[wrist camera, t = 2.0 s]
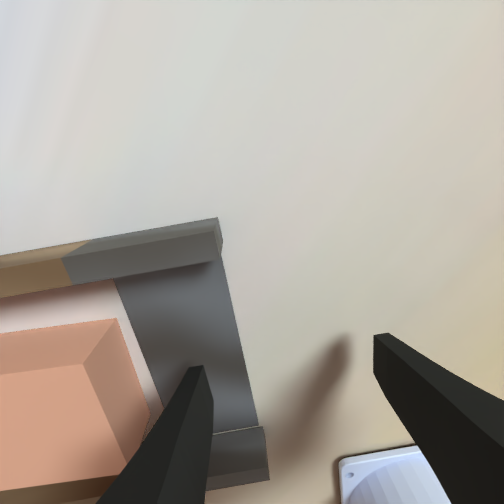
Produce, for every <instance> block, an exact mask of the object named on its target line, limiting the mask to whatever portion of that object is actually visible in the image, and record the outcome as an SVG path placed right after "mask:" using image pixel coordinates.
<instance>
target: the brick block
mask: <svg viewBox="0 0 504 504" xmlns="http://www.w3.org/2000/svg"><path fill="white" fill-rule="evenodd" d="M150 414H151V413H150V411H149V408H148V405H147V402H146V399H145V396H144V394H143V391H142V388H141V385H140V382H139V380H138V377H137V374H136V371H135V368H134V366H133V363H132V360H131V357H130V354H129V351H128V349H127V346H126V343H125V340H124V337H123V335H122V332H121V329H120V326H119V323H118V321H117V318H113V319H105V320H98V321H90V322H83V323H76V324H68V325H61V326H53V327H46V328H38V329H31V330H23V331H16V332H8V333H1V334H0V491H4V490H11V489H18V488H25V487H33V486H40V485H47V484H54V483H61V482H68V481H76V480H83V479H90V478H97V477H104V476H112V475H119V474H120V473H121V471H122V470H123V469H124V467H125V466H126V465H127V464H128V462H129V461H130V460H131V458H132V457H133V456H134V454H135V453H136V451H137V450H138V449H139V447H140V444H141V441H142V438H143V435H144V432H145V429H146V426H147V423H148V420H149V417H150Z"/></svg>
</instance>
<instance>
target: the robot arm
mask: <svg viewBox="0 0 504 504" xmlns="http://www.w3.org/2000/svg"><path fill="white" fill-rule="evenodd" d="M373 373H374V375H375V377H376V379H377V381H378V383H379V385H380V387H381V389H382V391H383V393H384V395H385V397H386V398H387V400H388V402H389V403H390V405H391V406H392V408H393V409H394V411H395V412H396V414H397V416H398V417H399V419H400V420H401V422H402V423H403V425H404V426H405V428H406V429H407V431H408V432H409V434H410V435H411V437H412V438H413V440H414V441H415V443H416V446H410V447H404V448H399V449H393V450H387V451H382V452H376V453H370V454H365V455H359V456H353V457H348V458H344V459H342V460H341V461H340V462H339V478H340V492H341V504H504V400H502V399H499V398H497V397H495V396H493V395H491V394H490V393H488V392H486V391H484V390H482V389H480V388H478V387H476V386H475V385H473V384H471V383H469V382H467V381H466V380H464V379H462V378H460V377H458V376H457V375H455V374H453V373H452V372H450V371H448V370H446V369H445V368H443V367H442V366H440V365H438V364H437V363H435V362H433V361H432V360H430V359H429V358H427V357H425V356H424V355H422V354H421V353H419V352H417V351H416V350H414V349H413V348H411V347H410V346H408V345H407V344H405V343H404V342H402V341H400V340H399V339H397V338H396V337H394V336H393V335H391V334H389V333H383V334H378V335H374V346H373ZM213 419H214V400H213V396H212V393H211V389H210V386H209V382H208V379H207V376H206V372H205V369H204V365H199V366H194V367H189V368H188V369H187V371H186V373H185V374H184V376H183V378H182V380H181V382H180V383H179V385H178V387H177V389H176V391H175V392H174V394H173V396H172V397H171V399H170V401H169V402H168V404H167V406H166V407H165V409H164V411H163V412H162V414H161V416H160V417H159V419H158V420H157V422H156V423H155V425H154V426H153V428H152V429H151V431H150V432H149V434H148V435H147V437H146V438H145V440H144V441H143V443H142V444H141V446H140V447H139V449H138V450H137V451H136V453H135V454H134V456H133V457H132V458H131V460H130V461H129V462H128V464H127V465H126V466H125V467H124V469H123V470H122V471H121V473H120V474H119V475H118V477H117V478H116V479H115V480H114V481H113V483H112V484H111V485H110V486H109V488H108V489H107V490H106V491H105V493H104V494H103V495H102V496H101V497H100V499H99V500H98V501H97V502H96V503H95V504H204V500H205V491H206V483H207V475H208V467H209V459H210V451H211V443H212V434H213Z"/></svg>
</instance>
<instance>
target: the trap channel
mask: <svg viewBox="0 0 504 504" xmlns="http://www.w3.org/2000/svg"><path fill="white" fill-rule="evenodd" d="M222 244H223V239H222V235H221V230H220V225H219V221H218V217H217V218H211V219H206V220H200V221H194V222H189V223H183V224H177V225H172V226H166V227H160V228H154V229H149V230H143V231H137V232H132V233H126V234H120V235H115V236H109V237H103V238H98V239H92V240H86V241H80V242H75V243H69V244H63V245H58V246H52V247H46V248H41V249H35V250H29V251H24V252H18V253H12V254H6V255H1V256H0V298H3V297H9V296H15V295H20V294H26V293H32V292H37V291H43V290H49V289H55V288H60V287H66V286H72V285H77V284H83V283H89V282H94V281H100V280H106V279H111V278H113V280H114V282H115V285H116V287H117V290H118V292H119V295H120V297H121V300H122V302H123V305H124V308H125V310H126V313H127V315H128V318H129V320H130V323H131V325H132V328H133V330H134V333H135V335H136V338H137V340H138V343H139V346H140V348H141V351H142V353H143V356H144V358H145V361H146V363H147V366H148V368H149V371H150V373H151V376H152V378H153V381H154V384H155V386H156V389H157V391H158V394H159V396H160V399H161V401H162V404H163V406H164V409H165V407H166V406H167V404H168V402H169V401H170V399H171V397H172V396H173V394H174V392H175V391H176V389H177V387H178V385H179V383H180V382H181V380H182V378H183V376H184V374H185V373H186V371H187V369H188V368H189V367H194V366H199V365H204V369H205V372H206V376H207V379H208V382H209V386H210V389H211V393H212V396H213V400H214V419H213V433H218V432H224V431H229V430H235V429H241V428H247V427H252V426H258V425H259V424H258V419H257V415H256V410H255V406H254V401H253V397H252V392H251V388H250V383H249V379H248V374H247V370H246V365H245V361H244V356H243V352H242V347H241V343H240V338H239V334H238V329H237V324H236V320H235V315H234V311H233V306H232V302H231V297H230V293H229V288H228V284H227V279H226V275H225V270H224V266H223V261H222V257H221V251H222ZM117 477H118V475H112V476H104V477H97V478H90V479H83V480H76V481H68V482H61V483H54V484H47V485H40V486H33V487H25V488H18V489H11V490H4V491H0V504H95V503H96V502H97V501H98V500H99V499H100V497H101V496H102V495H103V494H104V493H105V491H106V490H107V489H108V488H109V486H110V485H111V484H112V483H113V481H114V480H115V479H116V478H117ZM266 480H270V477H269V468H268V459H267V449H266V440H265V435H264V430H263V427H258V428H252V429H247V430H241V431H235V432H230V433H224V434H218V435H213V436H212V443H211V451H210V459H209V467H208V475H207V483H206V491H209V490H215V489H221V488H226V487H232V486H238V485H244V484H249V483H255V482H261V481H266Z"/></svg>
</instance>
